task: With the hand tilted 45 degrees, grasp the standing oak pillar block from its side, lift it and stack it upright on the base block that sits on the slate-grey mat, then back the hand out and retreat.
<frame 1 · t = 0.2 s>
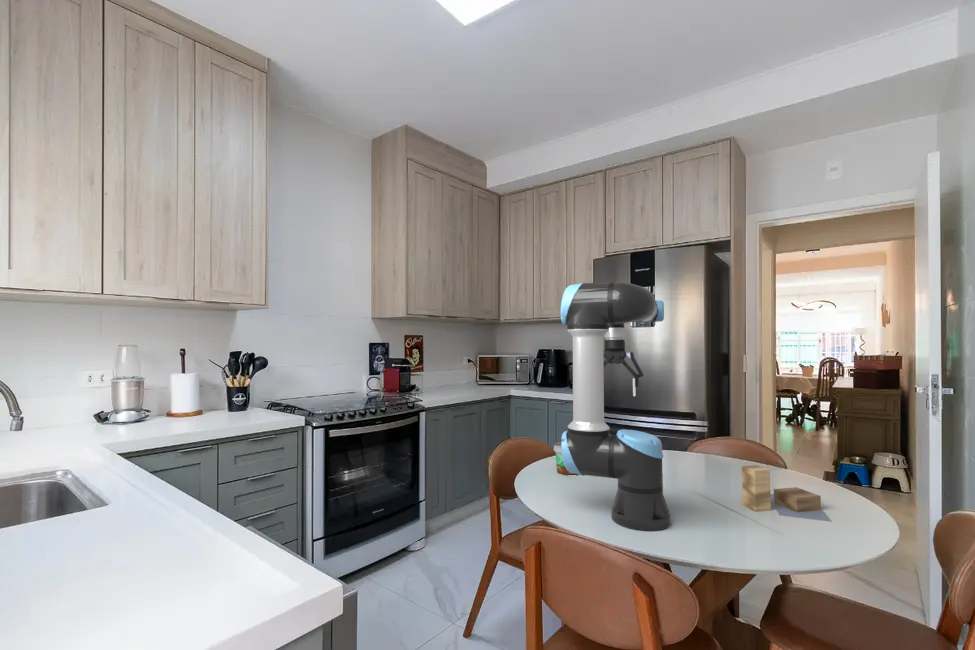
hand: (615, 395, 177), 28 cm above the table, tool pointing down, fingers open, 13 cm apart
base block: (796, 506, 135), point 1 cm above the table, touching blueprint mat
pillar block: (756, 510, 134), on the table
blueprint mat: (797, 508, 135), on the table
food container: (563, 473, 172), on the table
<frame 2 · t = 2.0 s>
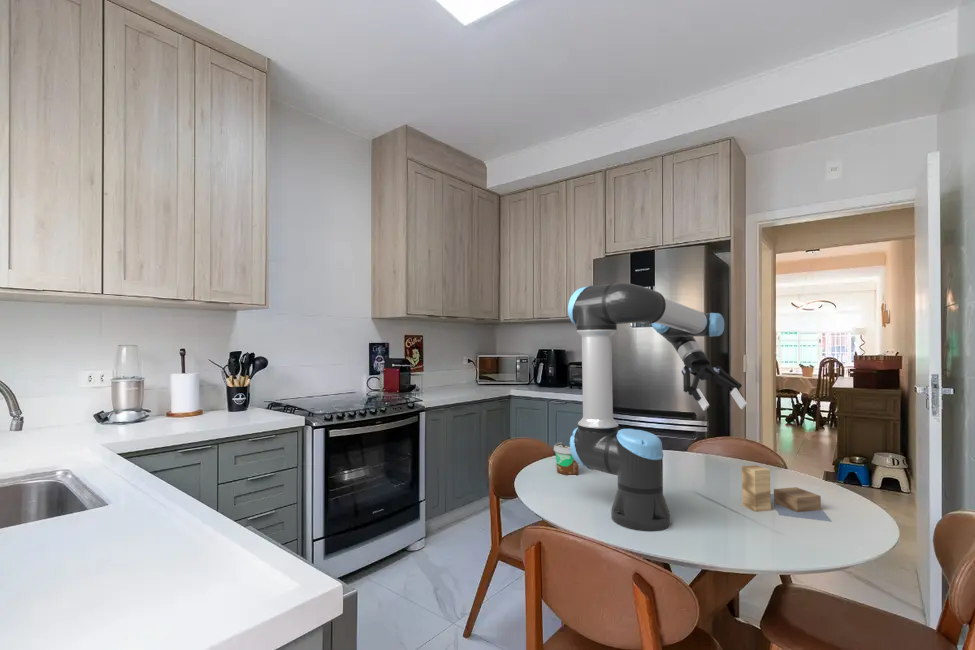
hand: (725, 407, 146), 28 cm above the table, tool tilted 45°, fingers open, 13 cm apart
nothing on the table moved.
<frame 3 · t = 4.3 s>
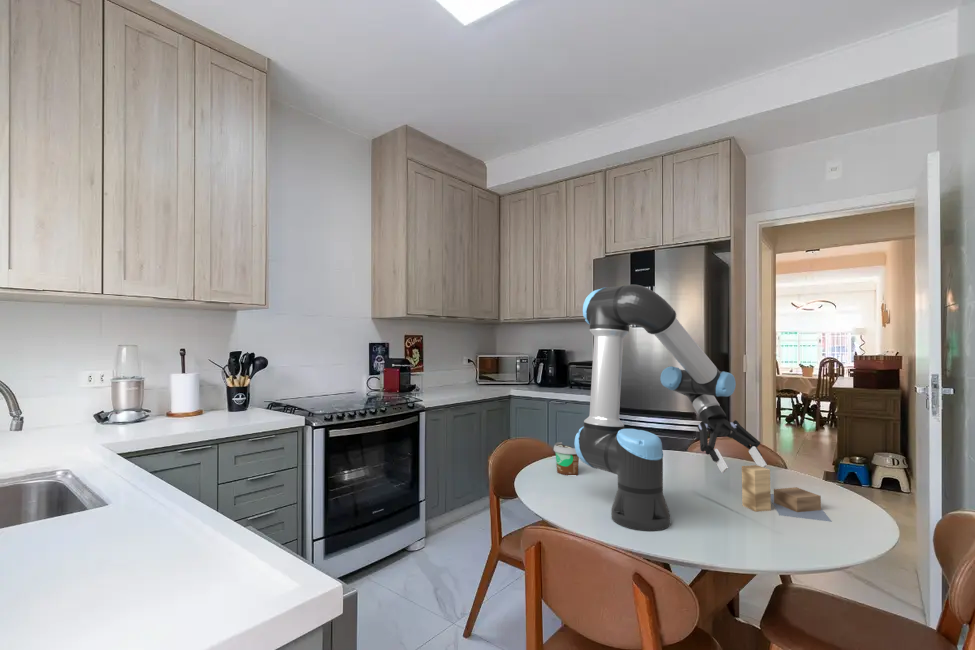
hand: (744, 469, 141), 10 cm above the table, tool tilted 45°, fingers open, 13 cm apart
nothing on the table moved.
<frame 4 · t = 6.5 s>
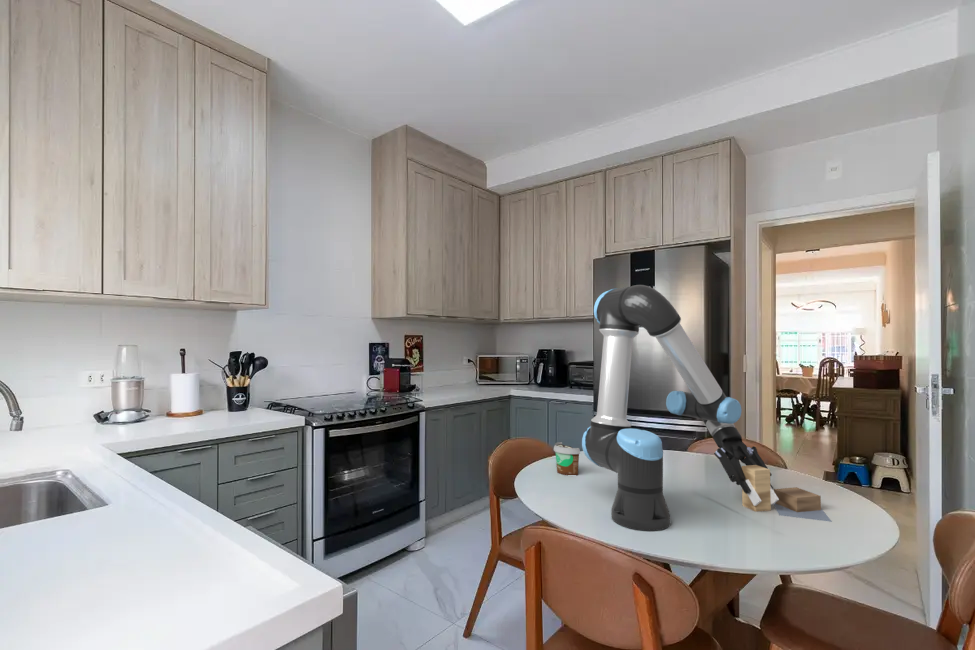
hand: (766, 502, 131), 3 cm above the table, tool tilted 45°, fingers closed on pillar block, 5 cm apart
pillar block: (756, 510, 134), on the table, touching gripper
everything else where it was.
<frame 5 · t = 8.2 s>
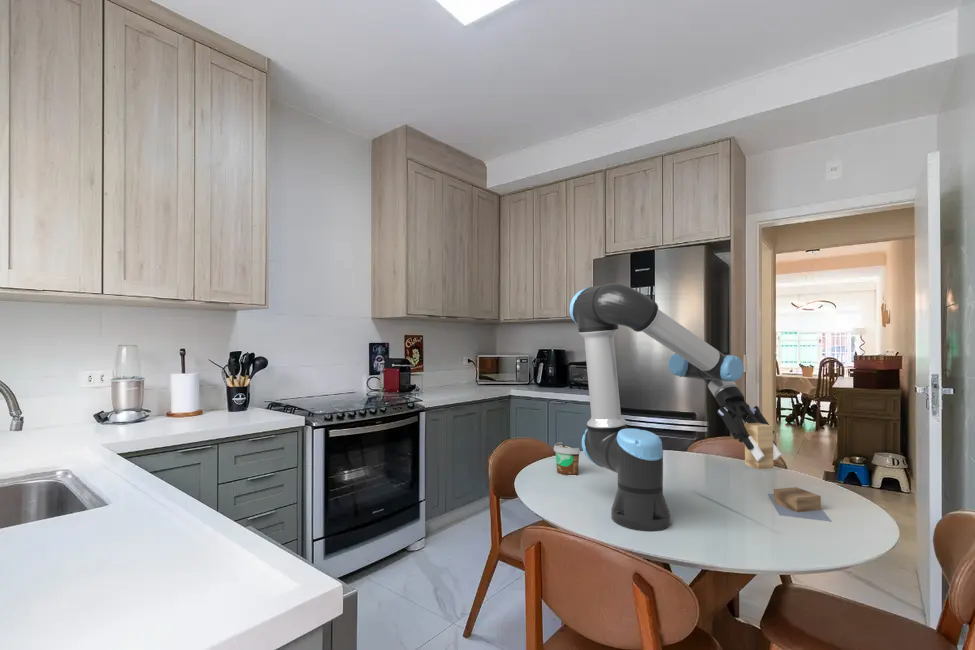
hand: (769, 457, 131), 16 cm above the table, tool tilted 45°, fingers closed on pillar block, 5 cm apart
pillar block: (759, 466, 135), point 12 cm above the table, touching gripper
everything else where it was.
when the fingers open (9 cm above the table, at t = 10.2 s): pillar block drops 1 cm, resting on base block.
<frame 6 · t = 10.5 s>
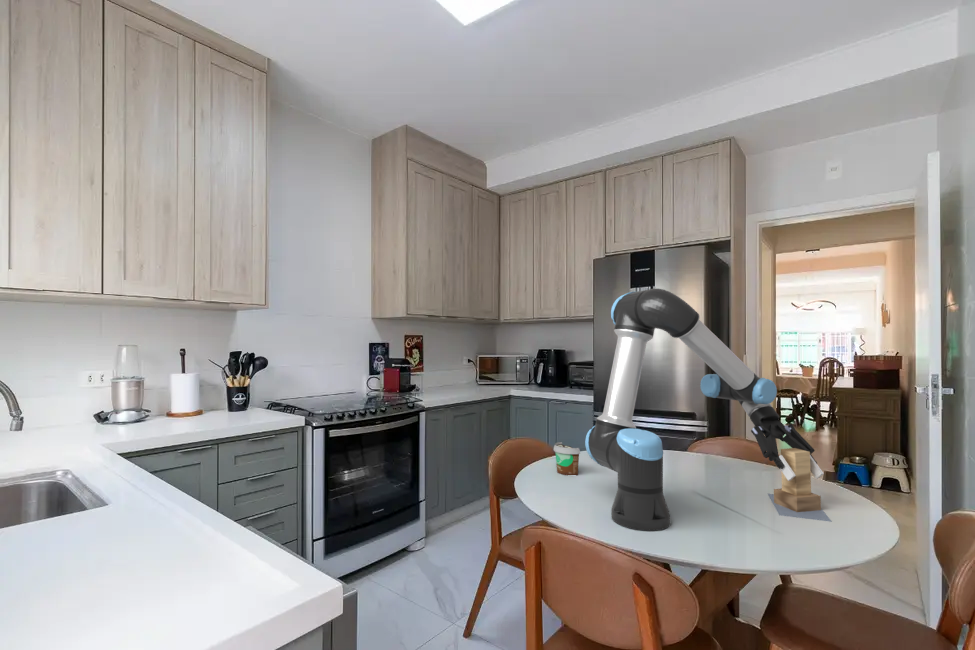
hand: (806, 477, 133), 10 cm above the table, tool tilted 45°, fingers open, 9 cm apart
base block: (796, 506, 135), point 1 cm above the table, touching blueprint mat, pillar block
pillar block: (796, 492, 136), point 5 cm above the table, touching base block
everything else where it was.
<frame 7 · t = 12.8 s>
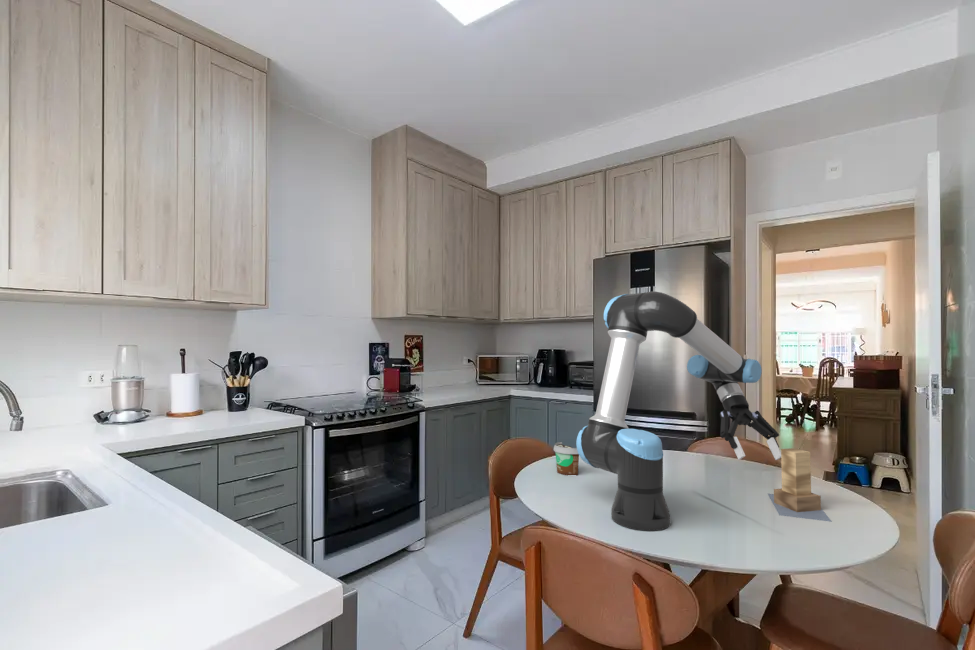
hand: (760, 458, 147), 12 cm above the table, tool tilted 40°, fingers open, 13 cm apart
nothing on the table moved.
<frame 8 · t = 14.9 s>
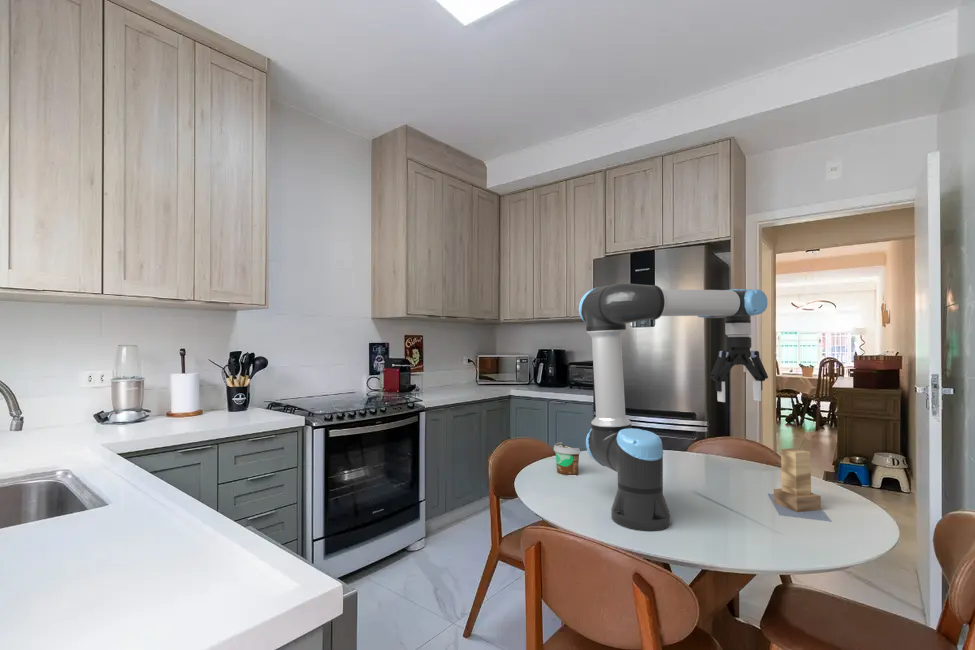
hand: (739, 401, 153), 29 cm above the table, tool pointing down, fingers open, 13 cm apart
nothing on the table moved.
at the end: pillar block 0.1 cm off-centre on the base block, point 4.0 cm above the base block's base; pillar block tilted 0°; the gripper is holding nothing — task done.
